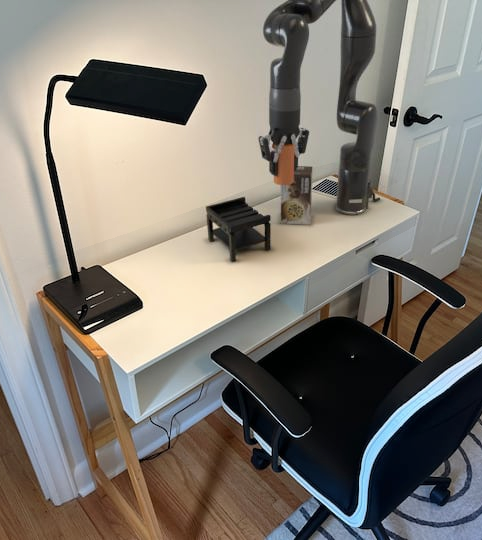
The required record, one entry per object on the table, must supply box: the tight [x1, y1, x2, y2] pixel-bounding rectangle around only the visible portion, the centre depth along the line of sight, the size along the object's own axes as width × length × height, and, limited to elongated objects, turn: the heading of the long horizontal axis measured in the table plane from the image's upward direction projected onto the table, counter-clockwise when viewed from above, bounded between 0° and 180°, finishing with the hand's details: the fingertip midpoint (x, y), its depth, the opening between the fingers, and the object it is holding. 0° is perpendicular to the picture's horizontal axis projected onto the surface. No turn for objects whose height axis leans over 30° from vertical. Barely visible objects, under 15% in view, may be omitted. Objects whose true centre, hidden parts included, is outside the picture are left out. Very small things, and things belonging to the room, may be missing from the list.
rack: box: [205, 196, 272, 263], centre depth 140 cm, size 12×14×10 cm
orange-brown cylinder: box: [273, 144, 295, 186], centre depth 130 cm, size 5×5×10 cm
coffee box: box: [280, 165, 313, 226], centre depth 151 cm, size 9×6×16 cm
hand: (283, 172), depth 131 cm, fingers closed on orange-brown cylinder, 5 cm apart
